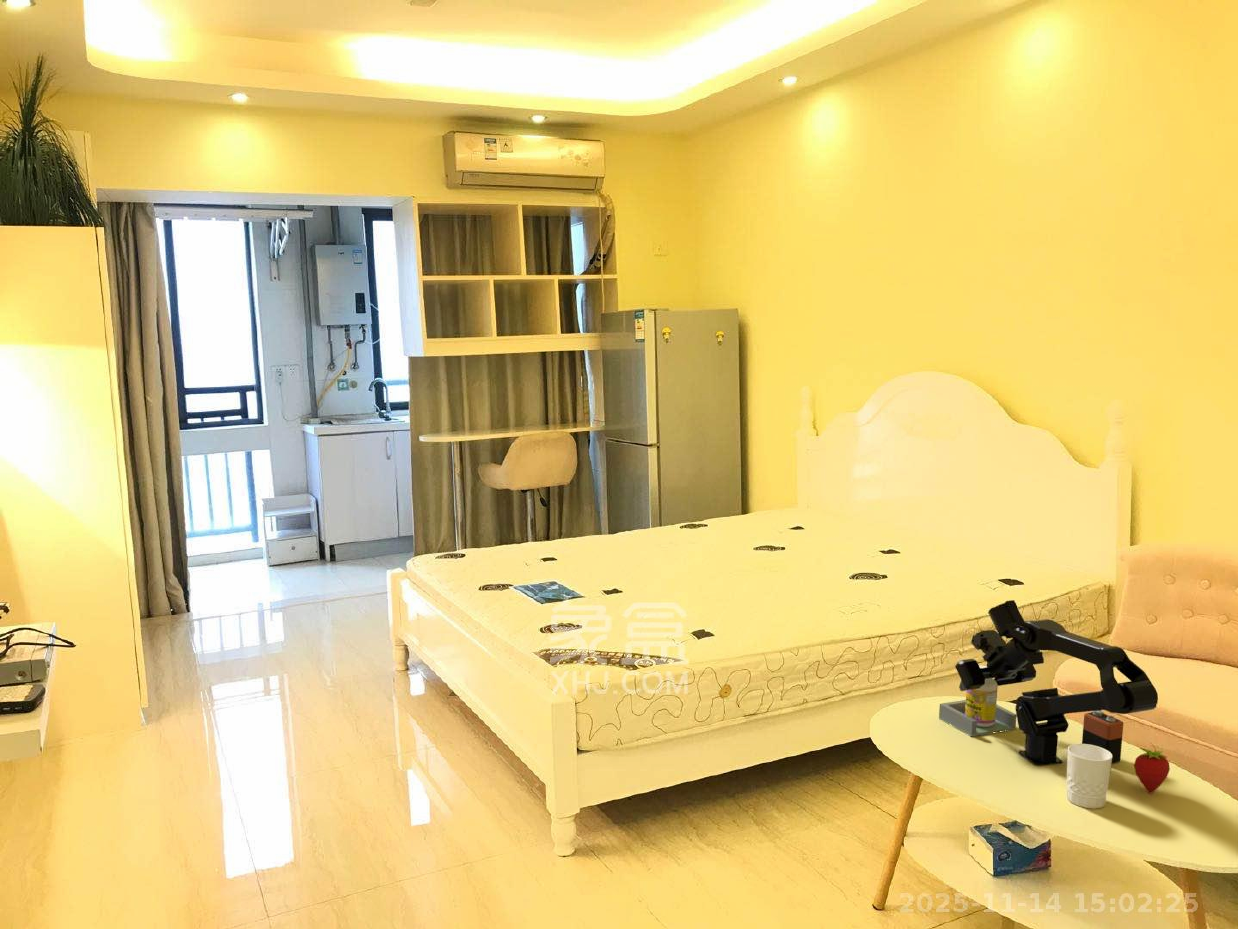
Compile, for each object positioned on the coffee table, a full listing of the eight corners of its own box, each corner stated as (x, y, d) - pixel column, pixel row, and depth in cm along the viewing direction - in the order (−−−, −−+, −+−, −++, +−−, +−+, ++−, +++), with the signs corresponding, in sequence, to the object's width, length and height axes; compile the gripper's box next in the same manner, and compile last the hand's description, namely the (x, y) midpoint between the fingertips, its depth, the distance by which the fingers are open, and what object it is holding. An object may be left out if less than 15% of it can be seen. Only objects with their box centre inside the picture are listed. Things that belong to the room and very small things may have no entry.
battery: (1094, 750, 222) (1098, 706, 221) (1121, 762, 216) (1125, 717, 214) (1079, 753, 220) (1083, 709, 219) (1106, 766, 214) (1110, 720, 213)
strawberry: (1125, 791, 202) (1129, 743, 201) (1143, 781, 207) (1148, 734, 205) (1155, 803, 198) (1160, 754, 196) (1173, 792, 202) (1178, 744, 201)
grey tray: (1015, 729, 233) (1016, 714, 232) (971, 737, 228) (972, 721, 228) (981, 712, 243) (982, 697, 242) (938, 718, 239) (939, 703, 238)
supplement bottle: (958, 719, 237) (961, 665, 235) (980, 715, 239) (984, 662, 237) (978, 730, 231) (982, 675, 229) (1001, 725, 233) (1005, 671, 231)
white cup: (1117, 805, 197) (1121, 755, 195) (1090, 814, 193) (1095, 763, 191) (1080, 788, 204) (1084, 740, 202) (1054, 797, 200) (1058, 748, 198)
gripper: (1030, 619, 231) (993, 651, 243) (963, 626, 225) (928, 659, 236) (1054, 663, 225) (1015, 694, 237) (986, 672, 218) (949, 704, 230)
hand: (976, 686), depth 235 cm, fingers open, 9 cm apart
